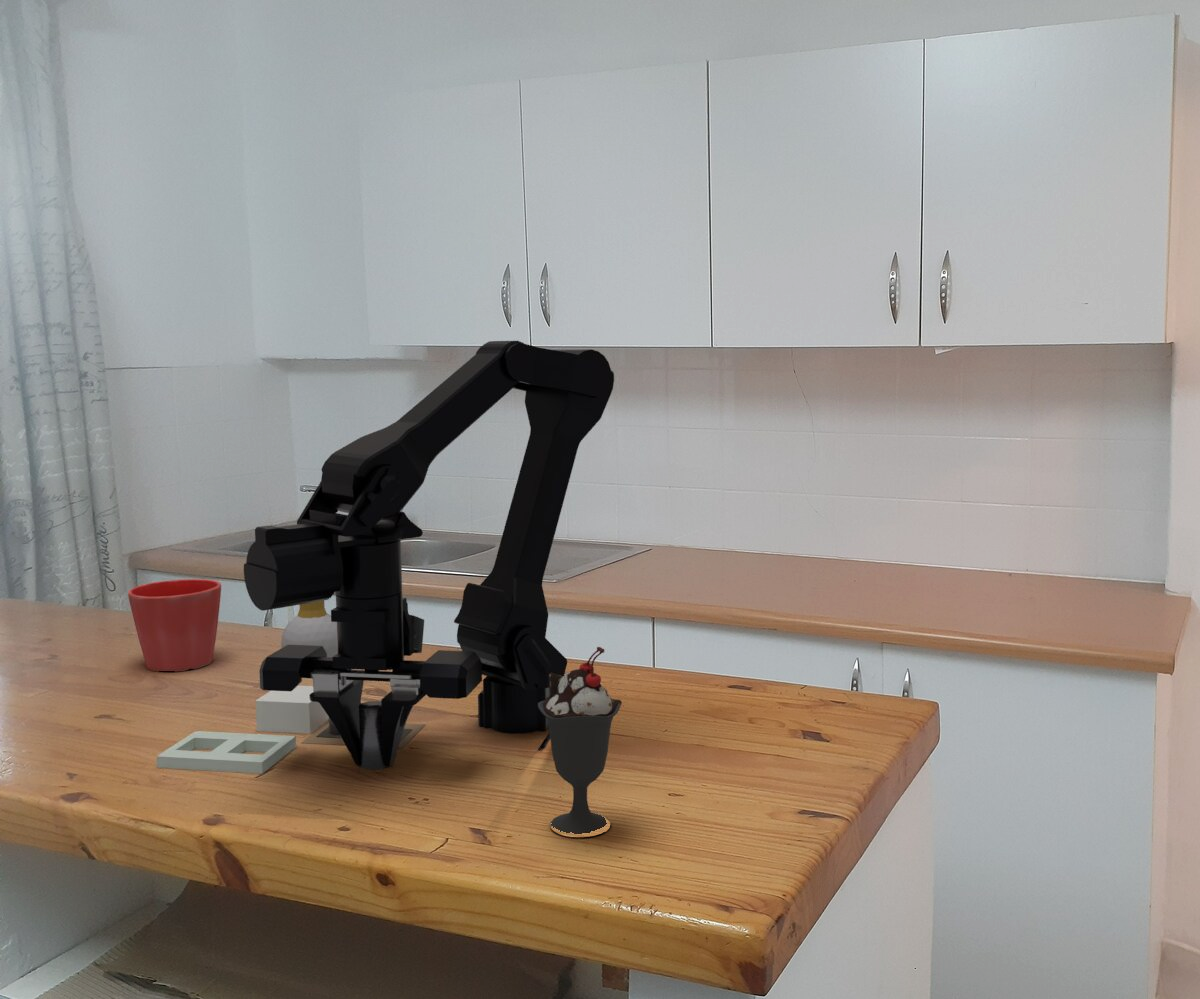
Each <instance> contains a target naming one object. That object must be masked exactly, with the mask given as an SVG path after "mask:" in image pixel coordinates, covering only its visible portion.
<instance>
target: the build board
mask: <svg viewBox="0 0 1200 999" xmlns="http://www.w3.org/2000/svg"><path fill="white" fill-rule="evenodd" d="M295 748H297V737H296V735H284V734H283V735H282V734H281V735H280V734H279V735H278V734H264V733H263V734H258V733H243V732H242V733H241V732H223V731H221V732H220V731H205V730H204V731H203V730H202V731H201V730H195V731H194V732H192V733H191V734H189V735H188V736H186V737H184V738H183V739H181V740H179V741H178V742H177V743H175V744H173V745H172V746H171V747H169V748H167V749H165V750H164V751H162V752H161V753H159V754H158V755H156V759H155V760H156V768H157V769H173V770H175V769H176V770H188V771H189V770H193V771H204V772H205V771H210V772H211V771H212V772H227V773H229V772H230V773H241V774H242V773H243V774H260V775H261V774H264V773H265V772H266V771H268V770H269V769H270V768H272V767H273V766H274V765H275V764H277V763H278V762H279V761H281V760H283V758H285V756H287V755H289V753H291V752H292V751H293V750H294V749H295ZM194 749H197V750H194ZM198 749H199V750H198ZM201 750H204V751H201ZM205 750H210V751H205ZM244 752H251V753H244ZM252 752H256V753H257V754H254V753H252ZM258 753H262V754H258Z"/></svg>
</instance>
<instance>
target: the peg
mask: <svg viewBox="0 0 1200 999" xmlns="http://www.w3.org/2000/svg"><path fill="white" fill-rule="evenodd" d="M359 724H360V753H361V765H360V767H361V769H362V770H365V771H366V770H368V771H378V770H382V769H385V768H387V767H386V766H385V762H384V756H383V741H382V710H381V700H372V701H371V700H370V701H369V700H368V701H364V702H361V704H360V705H359Z"/></svg>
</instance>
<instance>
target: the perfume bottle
mask: <svg viewBox="0 0 1200 999" xmlns="http://www.w3.org/2000/svg"><path fill="white" fill-rule="evenodd" d="M332 596H335V597H336V592H334V594H333V595H332ZM326 610H327V609H326V608H325V600H324V601H318V602H312V603H306V604H300V605H299V609H298V613H297V615H295V616H294V617H293V618H291V620H289V621H288V623H287V624H286V626H285V627H284V629H283V632H282V634H281V643H280V644H281V648H283V647H285V646H286V645H312V646H323V648H324V649H325V651H326V653H327V657H330V658H333V656H335V655H336V654H338V641H337V622H331V614H330V613H327V611H326Z"/></svg>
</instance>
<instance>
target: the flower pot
mask: <svg viewBox="0 0 1200 999" xmlns="http://www.w3.org/2000/svg"><path fill="white" fill-rule="evenodd" d="M221 583H222V582H220V581H217V580H212V579H203V578H202V579H200V578H199V579H198V578H192V579H191V578H189V579H187V578H186V579H183V578H182V579H173V580H172V579H171V580H161V581H155V582H149V583H145V584H141V585H137V586H135V587H133V588H131V589H129V590H128V592H127V593H128V594H127V595H128V601H129V605H130V610H131V613H132V618H133V622H134V626H135V630H136V633H137V634H136V635H137V638H138V641H139V645H140V647H141V648H140V649H141V652H142V656H143V659H144V662H145V666H146V667H147V670H150V671H152V672H153V671H154V672H159V671H175V672H182V671H188V670H189V669H191V670H192V669H193V670H195V669H199V668H203V667H205V666H207V665H209V664H211V663H212V662H213V660H214V654H215V653H214V652H215V646H216V639H217V634H218V633H217V632H218V624H219V617H220V616H219V615H220V606H221V605H220V604H221V595H222V584H221Z"/></svg>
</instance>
